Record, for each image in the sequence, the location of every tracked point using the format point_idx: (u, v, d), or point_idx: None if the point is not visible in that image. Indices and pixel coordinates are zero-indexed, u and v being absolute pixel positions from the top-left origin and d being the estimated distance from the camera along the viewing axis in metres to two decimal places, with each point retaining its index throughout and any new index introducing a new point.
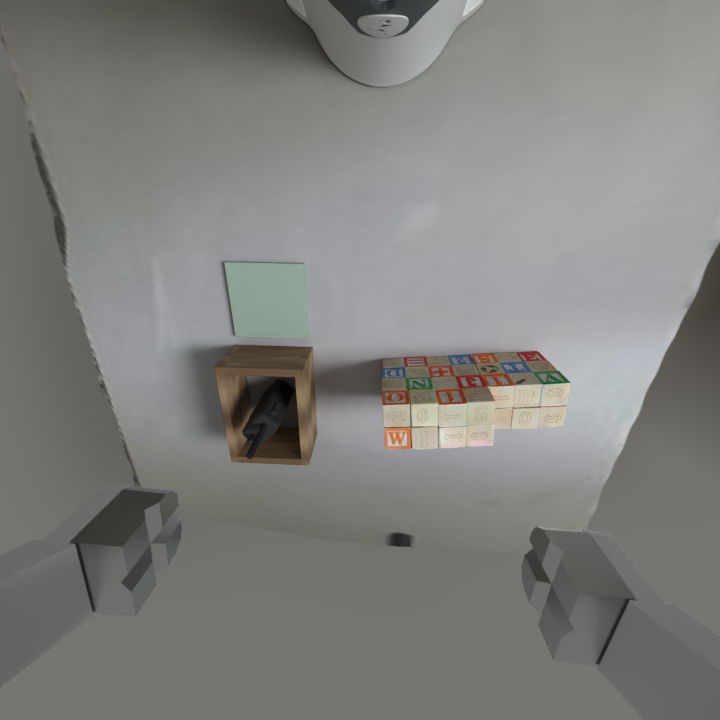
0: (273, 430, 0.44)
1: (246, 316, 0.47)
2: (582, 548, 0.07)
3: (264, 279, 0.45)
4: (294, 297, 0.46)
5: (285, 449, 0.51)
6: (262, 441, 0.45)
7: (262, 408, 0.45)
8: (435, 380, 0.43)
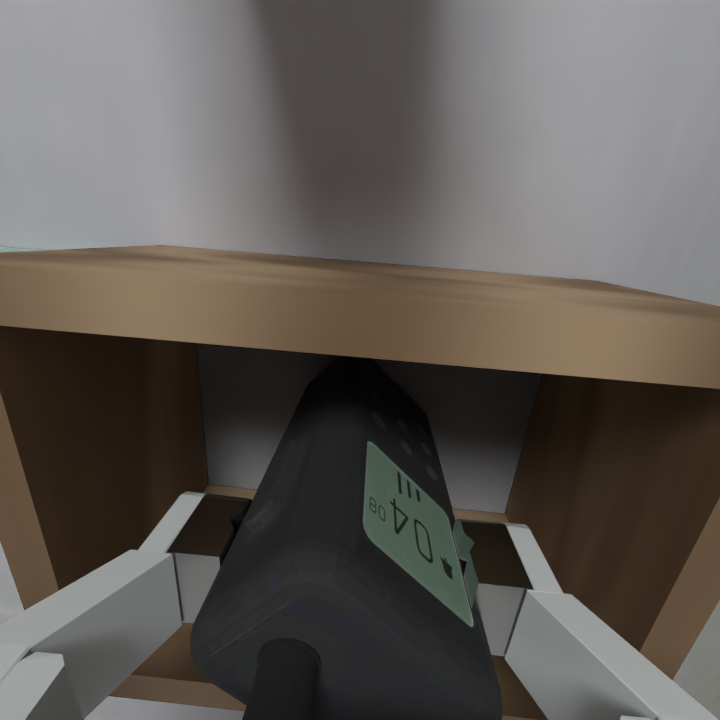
0: (343, 611, 0.05)
1: None
2: (494, 540, 0.07)
3: None
4: None
5: (633, 462, 0.08)
6: (463, 700, 0.05)
7: None
8: None
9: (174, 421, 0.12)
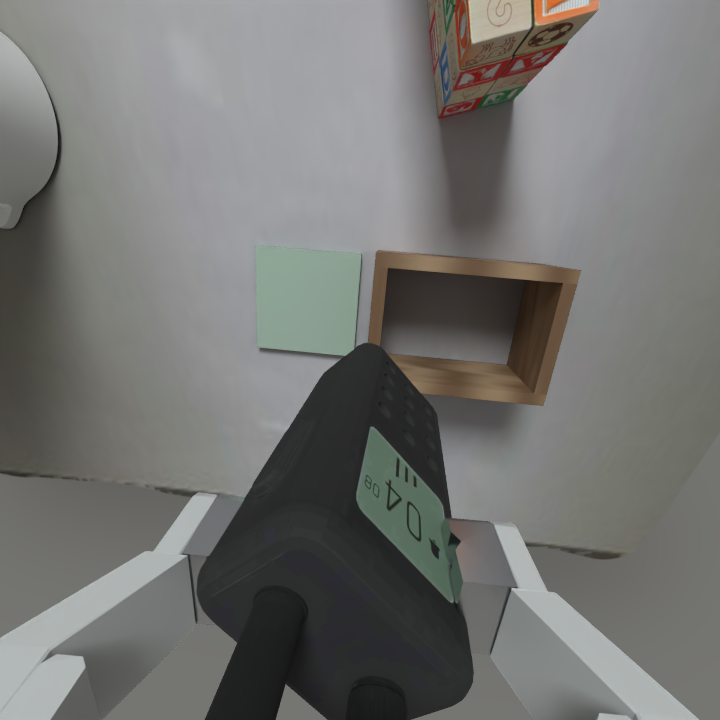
0: (329, 566, 0.05)
1: (325, 335, 0.35)
2: (481, 538, 0.07)
3: (276, 301, 0.35)
4: (299, 265, 0.33)
5: (543, 313, 0.29)
6: (434, 663, 0.06)
7: None
8: None
9: None
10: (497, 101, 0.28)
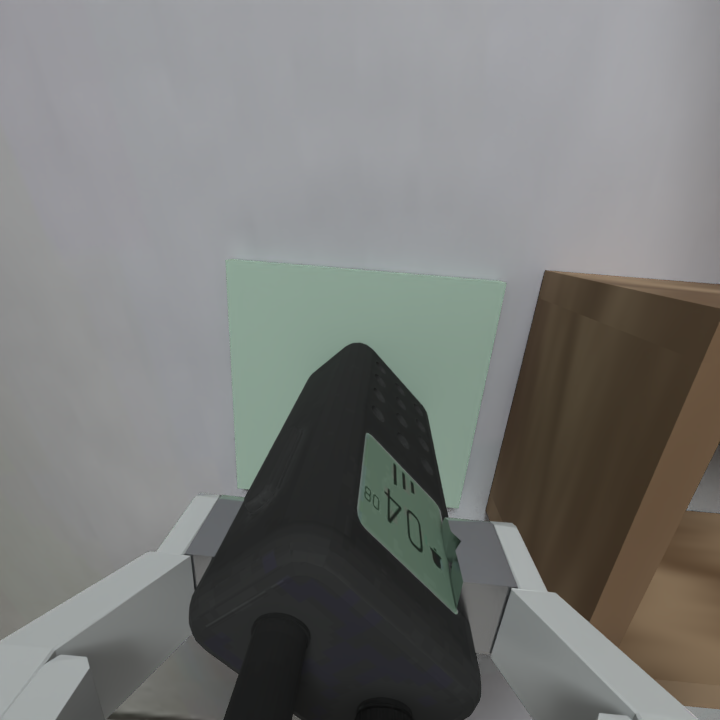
0: (334, 590, 0.05)
1: None
2: (481, 538, 0.07)
3: (282, 394, 0.14)
4: (342, 309, 0.13)
5: None
6: (443, 681, 0.05)
7: None
8: None
9: None
10: None
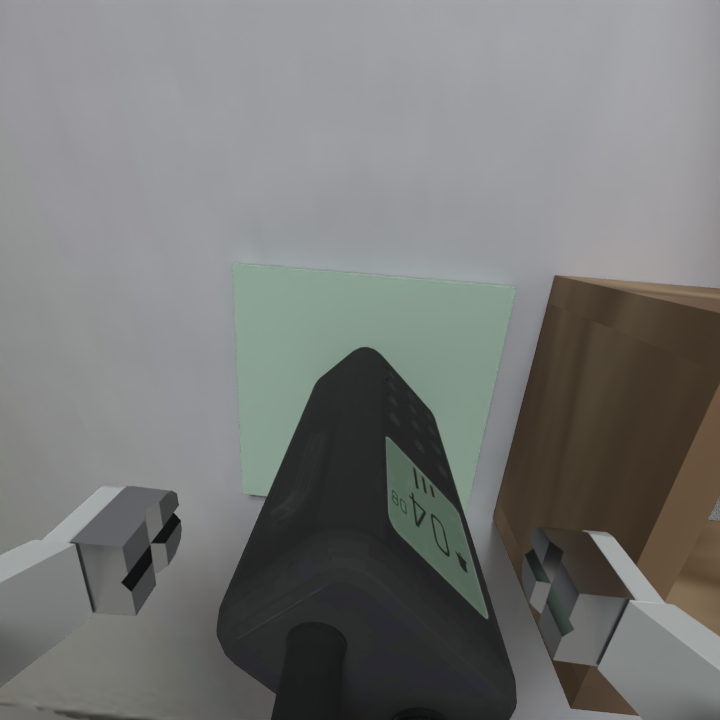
0: (374, 597, 0.05)
1: None
2: (582, 548, 0.07)
3: (288, 400, 0.14)
4: (349, 314, 0.13)
5: None
6: (481, 688, 0.05)
7: None
8: None
9: None
10: None
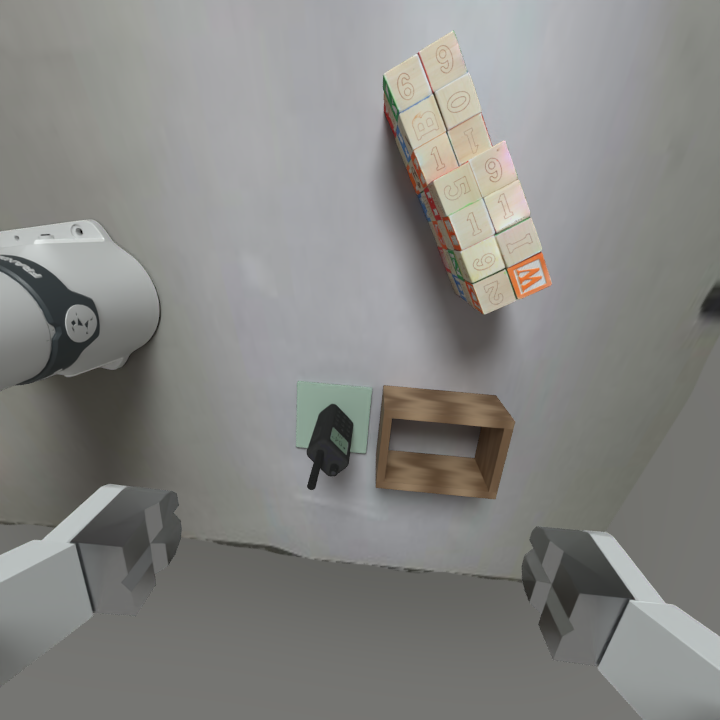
0: (327, 445, 0.39)
1: None
2: (582, 548, 0.07)
3: (311, 418, 0.49)
4: (328, 395, 0.47)
5: (494, 439, 0.43)
6: (341, 459, 0.40)
7: None
8: (447, 244, 0.34)
9: None
10: None
